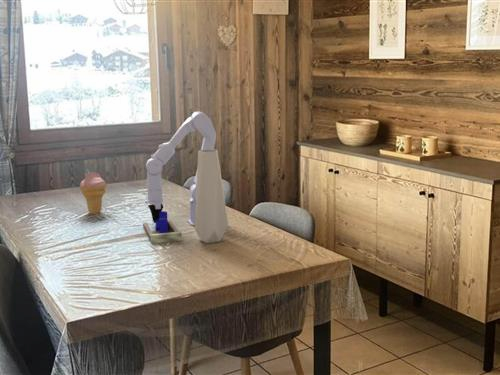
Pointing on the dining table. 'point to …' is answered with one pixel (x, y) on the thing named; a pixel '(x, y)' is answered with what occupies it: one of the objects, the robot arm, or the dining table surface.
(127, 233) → the dining table surface
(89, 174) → the ice cream cone
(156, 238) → the guide
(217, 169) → the vase
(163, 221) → the cable clip
